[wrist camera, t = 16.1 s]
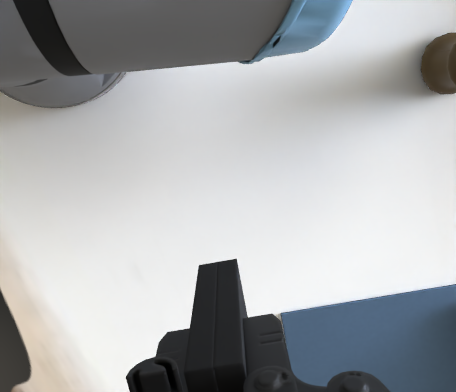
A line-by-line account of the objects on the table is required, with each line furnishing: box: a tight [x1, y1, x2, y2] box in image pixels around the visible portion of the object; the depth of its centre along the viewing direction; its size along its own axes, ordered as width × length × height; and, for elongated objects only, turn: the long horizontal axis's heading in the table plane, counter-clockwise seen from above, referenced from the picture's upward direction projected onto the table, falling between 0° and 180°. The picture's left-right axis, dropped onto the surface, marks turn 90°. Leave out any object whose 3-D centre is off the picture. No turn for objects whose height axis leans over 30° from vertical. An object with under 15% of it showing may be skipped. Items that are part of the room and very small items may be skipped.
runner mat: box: [281, 284, 456, 392], centre depth 46 cm, size 34×16×1 cm, turn 100°
